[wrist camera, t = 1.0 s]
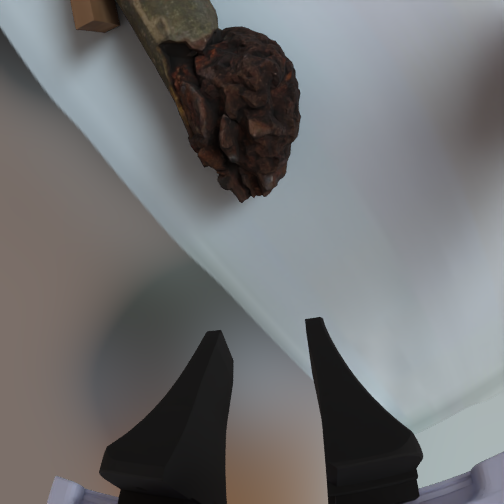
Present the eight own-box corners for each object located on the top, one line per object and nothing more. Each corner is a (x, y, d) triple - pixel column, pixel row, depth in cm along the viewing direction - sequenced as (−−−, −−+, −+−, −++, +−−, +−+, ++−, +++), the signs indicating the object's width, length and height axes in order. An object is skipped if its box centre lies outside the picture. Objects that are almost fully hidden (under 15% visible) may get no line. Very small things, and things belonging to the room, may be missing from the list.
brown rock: (110, -26, 13) (66, -46, 8) (203, -76, 11) (183, -115, 6) (229, 191, 21) (218, 231, 16) (325, 151, 19) (346, 179, 14)
